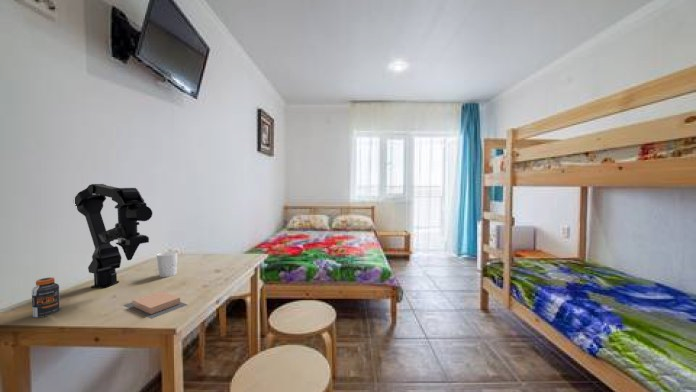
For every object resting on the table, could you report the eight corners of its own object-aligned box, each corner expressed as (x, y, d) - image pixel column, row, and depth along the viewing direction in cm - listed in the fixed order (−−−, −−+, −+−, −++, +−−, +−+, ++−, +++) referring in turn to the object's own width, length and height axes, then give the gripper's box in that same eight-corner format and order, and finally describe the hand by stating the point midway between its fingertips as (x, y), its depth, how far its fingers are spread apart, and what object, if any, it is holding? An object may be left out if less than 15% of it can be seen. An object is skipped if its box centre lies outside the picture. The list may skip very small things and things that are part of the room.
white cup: (182, 273, 128) (181, 252, 128) (166, 278, 121) (165, 256, 120) (169, 271, 131) (169, 250, 130) (153, 276, 123) (152, 254, 123)
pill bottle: (35, 319, 84) (33, 283, 84) (30, 315, 88) (28, 280, 87) (62, 312, 89) (60, 277, 89) (57, 307, 93) (55, 274, 92)
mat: (123, 306, 93) (123, 305, 93) (158, 294, 103) (158, 293, 103) (151, 319, 84) (151, 318, 84) (187, 305, 93) (187, 304, 93)
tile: (132, 300, 92) (150, 307, 86) (161, 290, 100) (180, 297, 94) (132, 306, 92) (150, 315, 86) (161, 297, 100) (180, 304, 94)
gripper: (90, 221, 104) (92, 262, 105) (112, 224, 95) (114, 269, 95) (125, 218, 114) (127, 255, 114) (148, 220, 104) (150, 261, 105)
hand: (129, 260), depth 107 cm, fingers closed
